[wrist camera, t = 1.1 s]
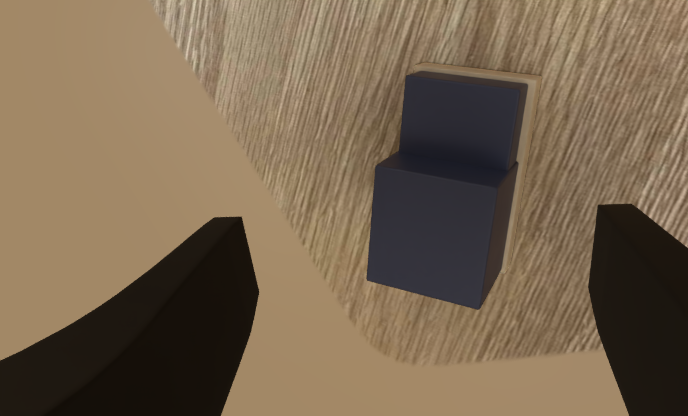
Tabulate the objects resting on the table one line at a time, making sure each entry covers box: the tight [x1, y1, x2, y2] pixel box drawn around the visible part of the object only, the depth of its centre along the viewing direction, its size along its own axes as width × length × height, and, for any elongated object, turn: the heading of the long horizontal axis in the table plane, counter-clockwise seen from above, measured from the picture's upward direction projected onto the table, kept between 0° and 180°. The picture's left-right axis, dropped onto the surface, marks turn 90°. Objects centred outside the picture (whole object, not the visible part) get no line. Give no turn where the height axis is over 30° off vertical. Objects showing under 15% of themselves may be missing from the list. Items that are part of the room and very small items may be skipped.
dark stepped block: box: [367, 62, 542, 310], centre depth 23 cm, size 8×4×5 cm, turn 176°
